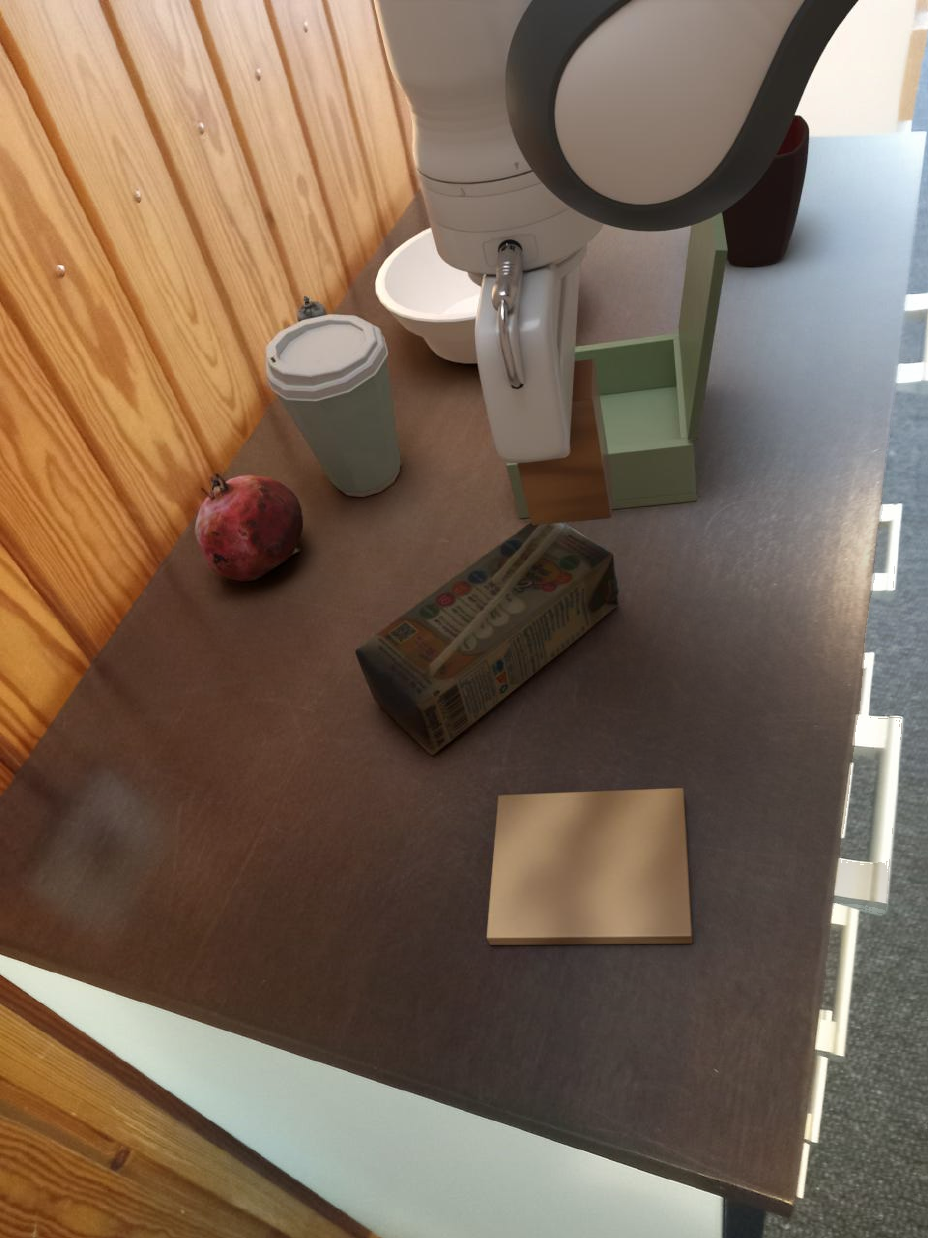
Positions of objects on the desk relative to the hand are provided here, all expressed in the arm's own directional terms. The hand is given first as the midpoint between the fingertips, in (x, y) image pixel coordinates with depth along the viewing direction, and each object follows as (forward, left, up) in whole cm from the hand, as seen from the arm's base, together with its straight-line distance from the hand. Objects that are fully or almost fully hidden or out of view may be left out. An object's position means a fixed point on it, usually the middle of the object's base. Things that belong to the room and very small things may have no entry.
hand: (558, 422), depth 61 cm
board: (+1, +18, -21) cm, 27 cm away
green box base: (0, -23, -21) cm, 31 cm away
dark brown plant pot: (-16, -55, -21) cm, 61 cm away
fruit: (+30, -13, -21) cm, 39 cm away
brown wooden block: (0, 0, -6) cm, 6 cm away
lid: (-9, -23, -7) cm, 26 cm away
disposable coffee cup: (+22, -23, -21) cm, 38 cm away
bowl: (+12, -45, -21) cm, 51 cm away
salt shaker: (+27, -36, -21) cm, 50 cm away
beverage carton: (+8, 0, -21) cm, 22 cm away
